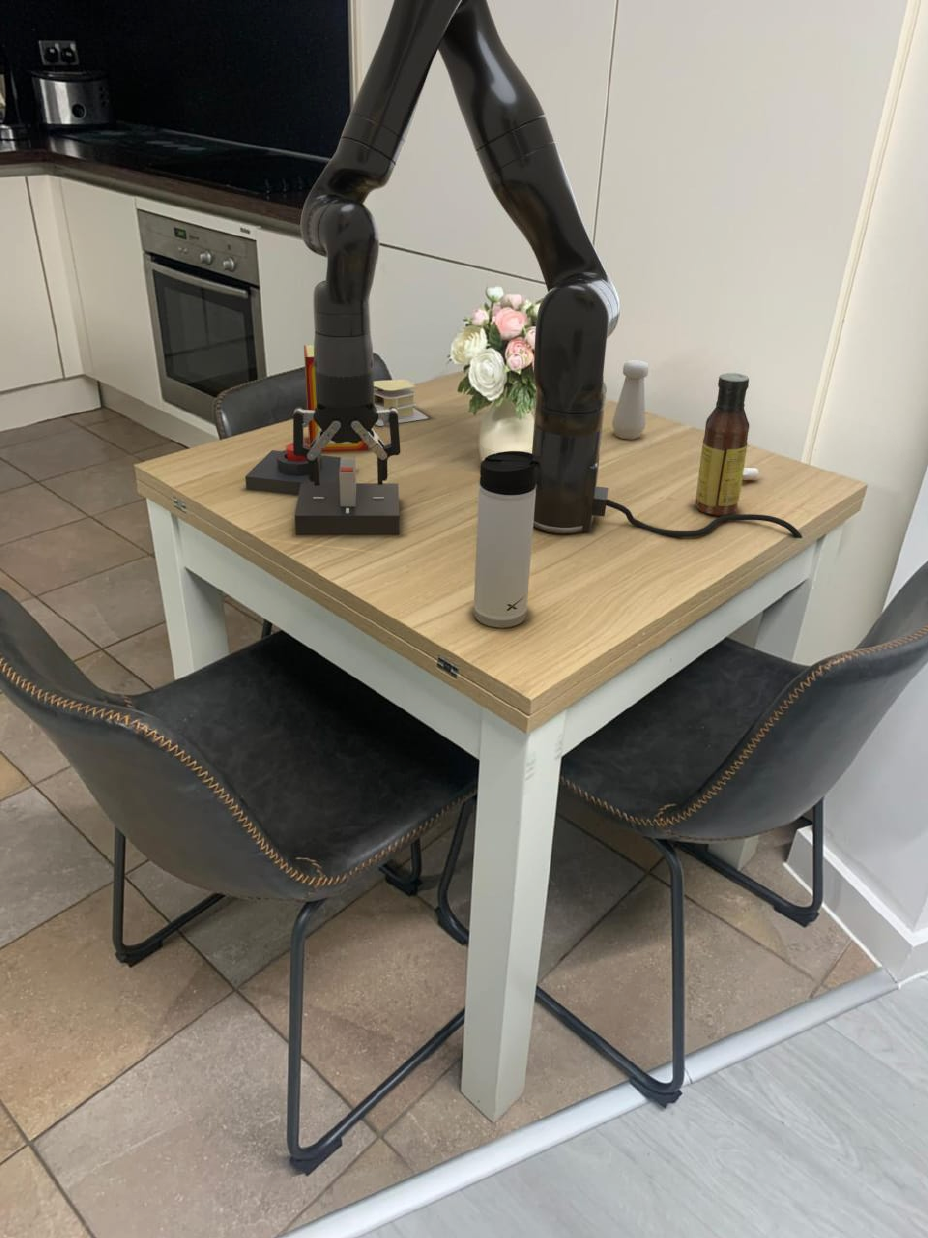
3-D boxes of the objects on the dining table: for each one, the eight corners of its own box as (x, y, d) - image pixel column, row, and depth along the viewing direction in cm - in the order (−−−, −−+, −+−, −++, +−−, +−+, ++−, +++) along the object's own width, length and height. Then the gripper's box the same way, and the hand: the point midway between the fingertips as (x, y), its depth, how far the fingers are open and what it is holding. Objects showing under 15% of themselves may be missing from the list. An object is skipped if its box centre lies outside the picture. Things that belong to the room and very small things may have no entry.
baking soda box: (310, 452, 154) (305, 354, 146) (308, 438, 160) (303, 342, 151) (368, 450, 156) (366, 353, 148) (365, 436, 161) (363, 342, 153)
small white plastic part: (765, 486, 149) (769, 468, 147) (727, 485, 148) (730, 466, 147) (759, 477, 152) (763, 459, 150) (722, 476, 152) (725, 458, 150)
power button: (314, 454, 144) (313, 443, 143) (306, 463, 141) (306, 452, 140) (291, 452, 144) (291, 441, 143) (283, 460, 141) (282, 449, 140)
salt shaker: (605, 430, 168) (613, 357, 161) (634, 428, 169) (644, 355, 163) (619, 442, 163) (628, 367, 156) (649, 439, 165) (660, 365, 158)
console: (398, 502, 139) (398, 482, 137) (399, 535, 130) (399, 514, 128) (301, 502, 138) (300, 481, 136) (295, 535, 128) (294, 514, 127)
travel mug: (524, 632, 109) (537, 469, 99) (468, 624, 110) (475, 462, 100) (532, 605, 114) (545, 448, 104) (478, 598, 115) (486, 442, 105)
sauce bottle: (737, 503, 143) (763, 372, 132) (735, 520, 137) (762, 385, 127) (693, 497, 144) (715, 367, 134) (690, 514, 139) (712, 380, 128)
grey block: (342, 490, 134) (340, 455, 132) (356, 490, 134) (355, 455, 132) (340, 506, 130) (339, 470, 127) (355, 506, 130) (354, 470, 127)
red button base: (352, 471, 148) (351, 447, 146) (330, 499, 139) (329, 473, 137) (272, 462, 150) (271, 438, 148) (246, 489, 141) (243, 464, 139)
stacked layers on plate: (406, 403, 177) (406, 374, 174) (429, 418, 170) (429, 388, 168) (357, 410, 173) (356, 380, 170) (378, 426, 166) (378, 395, 163)
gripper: (398, 357, 126) (399, 472, 134) (290, 357, 125) (297, 473, 133) (400, 374, 119) (401, 493, 128) (286, 374, 118) (294, 494, 127)
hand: (348, 483), depth 130 cm, fingers open, 8 cm apart
